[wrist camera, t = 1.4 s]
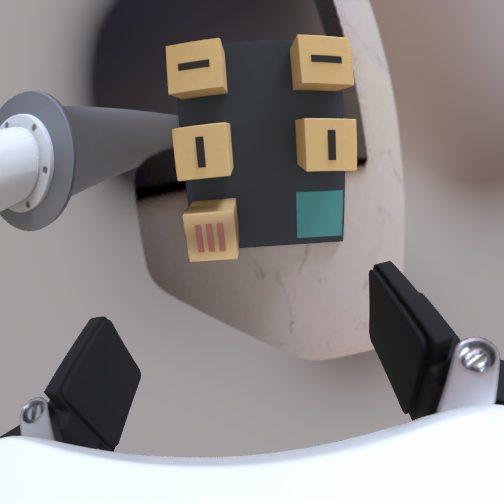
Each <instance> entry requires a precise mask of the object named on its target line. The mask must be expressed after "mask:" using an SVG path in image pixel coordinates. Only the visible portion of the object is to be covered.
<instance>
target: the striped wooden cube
mask: <svg viewBox="0 0 504 504" xmlns="http://www.w3.org/2000/svg"><path fill="white" fill-rule="evenodd" d="M182 218H183V224H184V231H185V237H186V243H187V249H188V255H189V261H190V262H199V261H214V260H230V259H238V255H239V242H240V236H239V225H238V214H237V202H236V198H230V199H218V200H206V201H195V202H192V203H191V204H190V206H189V207H188V209H187V210H186V211H185V213H184V214H183V215H182Z"/></svg>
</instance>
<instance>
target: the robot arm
mask: <svg viewBox="0 0 504 504" xmlns="http://www.w3.org/2000/svg"><path fill="white" fill-rule="evenodd" d="M53 173H54V151H53V145H52V141H51V138H50V135H49V133H48V131H47V129H46V127H45V126H44V124H43V123H42V122H41V121H40V120H39V119H38V118H37V117H35V116H33V115H30V114H18V115H14V116H12V117H10V118H8V119H7V120H6V121H5V122H4V123H3V124H2V125H1V126H0V212H1V211H3V210H5V209H7V208H9V209H10V210H12V211H14V212H20V213H21V212H27V211H29V210H31V209H33V208H35V207H37V206H38V205H39V204H40V203H41V202H42V201H43V200H44V198H45V197H46V195H47V193H48V191H49V188H50V186H51V182H52V179H53ZM369 300H370V317H369V334H370V339H371V342H372V344H373V346H374V348H375V350H376V352H377V354H378V357H379V359H380V361H381V363H382V365H383V367H384V369H385V372H386V374H387V376H388V378H389V381H390V383H391V385H392V387H393V390H394V392H395V394H396V397H397V399H398V401H399V404H400V406H401V408H402V411H403V412H404V413H405V414H407V413H409V414H410V416H411V419H412V421H410V422H406V423H403V424H400V425H396V426H393V427H390V428H387V429H384V430H380V431H377V432H373V433H370V434H366V435H363V436H358V437H354V438H350V439H346V440H341V441H337V442H333V443H329V444H323V445H318V446H314V447H308V448H302V449H296V450H289V451H282V452H275V453H266V454H256V455H245V456H230V457H193V458H192V457H163V456H148V455H137V454H127V453H119V452H114V449H115V446H117V445H118V443H119V441H120V437H121V434H122V431H123V428H124V425H125V422H126V419H127V416H128V413H129V410H130V407H131V404H132V401H133V398H134V396H135V393H136V390H137V387H138V384H139V381H140V378H141V372H140V369H139V368H138V366H137V365H136V363H135V361H134V360H133V358H132V357H131V355H130V353H129V352H128V350H127V348H126V347H125V345H124V344H123V341H122V340H121V338H120V336H119V335H118V333H117V331H116V329H115V327H114V326H113V324H112V322H111V321H110V320H108V319H107V318H106V317H96V318H92V319H90V320H89V322H88V323H87V325H86V326H85V327H84V329H83V330H82V332H81V334H80V335H79V336H78V338H77V339H76V341H75V343H74V344H73V346H72V347H71V349H70V350H69V352H68V353H67V355H66V356H65V358H64V360H63V361H62V363H61V365H60V366H59V368H58V369H57V371H56V373H55V374H54V376H53V378H52V379H51V381H50V383H49V385H48V386H47V388H46V390H45V391H44V393H45V394H46V395H47V396H48V398H49V399H50V401H49V403H48V402H47V401H46V400H45V399H44V398H42V397H36V398H34V399H31V400H30V401H29V402H27V403H26V404H25V406H24V407H23V409H22V410H21V413H20V425H19V426H17V427H16V428H14V429H12V430H11V431H9V432H7V433H6V434H4V435H2V436H1V437H0V504H504V360H500V353H499V351H498V349H497V347H496V346H495V345H494V344H493V343H492V342H491V341H489V340H487V339H485V338H482V337H469V338H465V339H463V340H462V341H461V340H460V339H459V338H458V336H457V335H456V334H455V333H454V331H453V330H452V329H451V327H450V326H449V325H448V324H447V322H446V321H445V320H444V319H443V317H442V316H441V315H440V314H439V312H438V311H437V310H436V309H435V308H434V307H433V305H432V304H431V303H430V302H429V300H428V299H427V298H426V297H425V296H424V295H423V294H422V293H419V292H418V291H417V290H416V289H415V288H414V287H413V285H412V284H411V283H410V282H409V281H408V280H407V279H406V277H405V276H404V275H403V274H402V273H401V272H400V271H399V269H398V268H397V267H396V266H395V265H394V264H393V263H392V262H391V261H388V262H384V263H379V264H375V265H374V268H373V270H370V271H369ZM421 417H422V418H421ZM418 418H419V419H418ZM415 419H416V420H415ZM98 449H99V450H98Z"/></svg>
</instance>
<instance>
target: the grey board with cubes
mask: <svg viewBox="0 0 504 504" xmlns="http://www.w3.org/2000/svg"><path fill="white" fill-rule="evenodd" d="M166 61H167V78H168V92H169V94H170V95H172V96H175V97H177V101H178V113H179V125H180V128H175V129H172V137H173V147H174V156H175V165H176V173H177V180H178V181H186V189H187V196H188V204H189V206H190V204H191V203H192V202H195V201H206V200H218V199H230V198H236V202H237V214H238V225H239V236H240V242H239V248H245V247H260V246H275V245H290V244H306V243H321V242H337V241H343V228H344V195H345V171H357V135H356V120H355V119H343V100H342V89H345V88H347V87H350V86H353V85H354V79H353V68H352V58H351V49H350V41H349V38H342V37H331V36H316V35H297V37H296V39H295V40H292V41H291V40H274V41H249V42H235V43H225V44H222V43H221V40H220V38H215V39H208V40H201V41H194V42H188V43H181V44H176V45H171V46H166Z"/></svg>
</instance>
